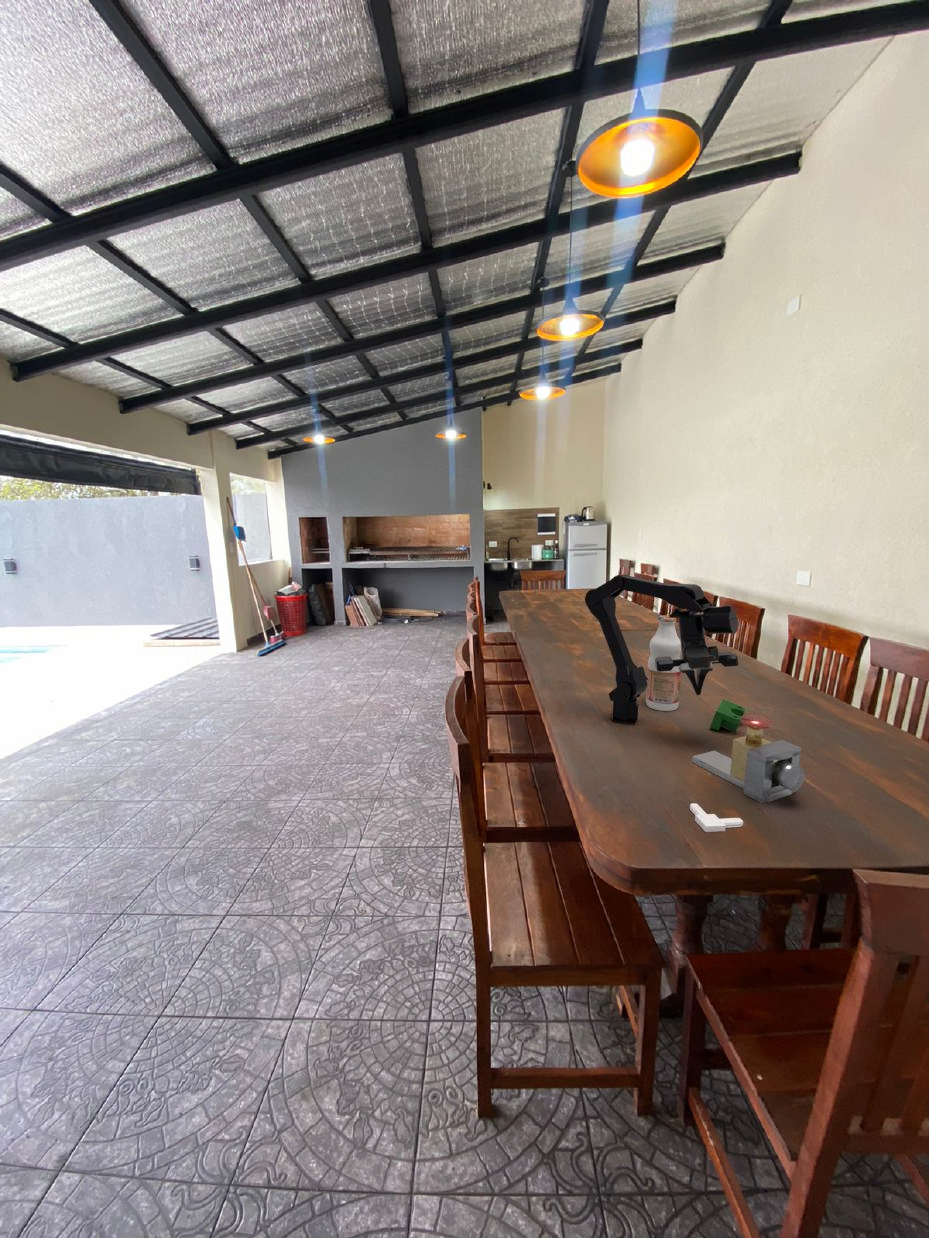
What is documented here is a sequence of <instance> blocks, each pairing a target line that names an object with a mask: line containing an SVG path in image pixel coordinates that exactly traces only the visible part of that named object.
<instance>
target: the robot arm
mask: <svg viewBox="0 0 929 1238" xmlns="http://www.w3.org/2000/svg"><path fill="white" fill-rule="evenodd" d="M624 591H627V592H632V593H634V594H635V593H636V594H639V595H644V596H648V597H652V598H656V599H660V600H662V601H664V602H666V603H667V604H669V605H671V606H674V607H675V608H674V610H673V612H672V613H670V614H669V615H668V616H669V617H670V618H676V619H677V621H678V622H677V623H678V629H679V630H678V631H679V639H680V642H681V658H680V659H673V660H672V658H671V657H670V656H668V657H657V658H656V659H655V668H656V670H657V671H671V670H672V669H673V668H674V667H676V666H679V670H680V671H681V674H685V675H686V676H687V678H688V680H689V681H690V684H691V686H692V689H693V691H694V693H695V695H696V696H701V694H702V689H703V686H704V682H705V679H706V677H707V675H708V673H709V672H713V671H714V668H713V667H712V665H713V664H721V666H723V667H725V668H727V667H737V666H739V659H738V656H737V655H736V654H735V653H734V652H732V651H720V652H719V648H718V646H716V645H713V646H712V645H711V646H708V645H707V643H706V637H705V632H707V633H708V634H709V635H719V634H720V635H723V634H724V635H725V634H727V635H730V634H734V635H735V634H736V633H737V632H738V631H739V630H738V629H739V617H738V616H737V612H736V610H734V605H733V604H729V605H724V606H723V605H722V606H715V605H714V604H713V603H712V602H711V600H709V599H708V597H706V596H705V594H704V591H703V589H702V588H701V586H700V585H698V584H696V583H695V584H694V583H666V582H660V581H655V580H652V579H646V578H640V577H636V576H633V575H632V576H631V575H629V574H627V573H623V574H617V575H615V576H614V577H612V578H611V579H610V580H608V581H606V582H604V583H603V584H601V585H600V586H597V588H593V589H589V590H587V593H586V594H585V596H584V602H585V605H586V607H587V609H588V610H589V612H590V614H591V615H593V617H595V618H596V620H597V621H598V623H599V625H600V628H601V630H602V633H603V636H604V639H605V641H606V644H607V646H608V650H609V652H610V654H611V657H612V660H613V664H614V666H615V684H616V687H615V688H613V690H611V691H610V692H608V697H609V700H610V702H612V716H611V722H614V723H620V724H621V723H622V724H629V725H635V724H636V723H637V722H636V721H638V719H639V709H640V708H639V707H640V704H639V703H638V702H637V701H638V698H640V697H641V694H642V693H644V692H646V690H647V680H648V678H647V675H646V672H645V668H644V666H642V665H641V666H638V665H636V664H635V663H634V662H633V658H632V656H631V653H630V651H629V649H628V646H627V643H626V640H625V637H624V635H623V633H622V630H621V628H620V624H619V622H618V619H617V616H616V610H617V609H616V608H617V604H616V598H617V597H618V596H620V595H621V594H623V592H624ZM695 670H696V671H695ZM695 672H696V675H695Z"/></svg>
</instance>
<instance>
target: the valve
mask: <svg viewBox="0 0 929 1238" xmlns="http://www.w3.org/2000/svg"><path fill="white" fill-rule="evenodd" d="M740 723H741V724H742V725H743V726H746V730H745V731H746V733H745V735H744V736H740V737H737V738H734V739H732V750H731V770H730V774H732V775H734V776H736V777H738V778H740V779H742V780H744V781H745V772H746V762H747V751H748V749H750V748H753V747H757V746H761V745H765V744H769V743H772V741H770V740H767V739H766V738H764V737H763V735H764V729H769V728H772V721H771V720H770V719H768V718H766V717H764V716H760V715H755V714H743V716H741V719H740ZM779 763H780V761H776V762H774V764H773V773H772V778H773V774H774V770H775V768H776V766H777V765H778V764H779Z"/></svg>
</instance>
